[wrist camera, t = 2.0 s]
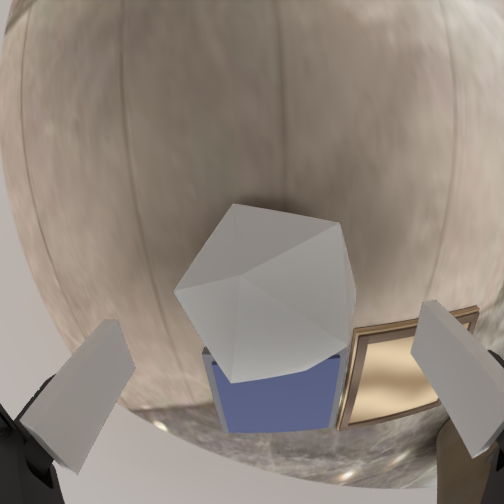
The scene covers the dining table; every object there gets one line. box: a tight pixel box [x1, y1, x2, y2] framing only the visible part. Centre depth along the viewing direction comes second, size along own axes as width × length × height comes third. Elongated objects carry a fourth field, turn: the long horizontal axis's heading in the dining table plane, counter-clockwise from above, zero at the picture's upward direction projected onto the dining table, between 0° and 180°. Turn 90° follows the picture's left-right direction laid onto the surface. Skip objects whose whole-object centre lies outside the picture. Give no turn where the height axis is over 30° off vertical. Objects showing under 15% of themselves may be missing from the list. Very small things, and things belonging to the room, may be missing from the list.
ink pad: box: [202, 346, 349, 433], centre depth 21 cm, size 11×11×1 cm
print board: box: [336, 306, 480, 431], centre depth 20 cm, size 13×13×1 cm
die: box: [173, 203, 357, 383], centre depth 14 cm, size 8×9×10 cm
